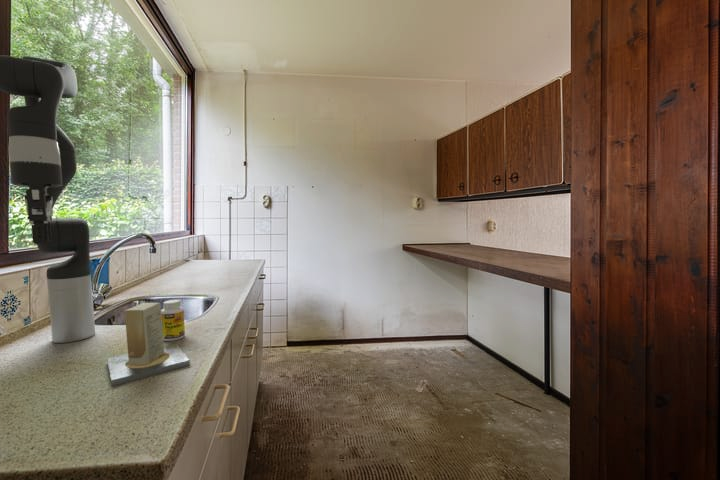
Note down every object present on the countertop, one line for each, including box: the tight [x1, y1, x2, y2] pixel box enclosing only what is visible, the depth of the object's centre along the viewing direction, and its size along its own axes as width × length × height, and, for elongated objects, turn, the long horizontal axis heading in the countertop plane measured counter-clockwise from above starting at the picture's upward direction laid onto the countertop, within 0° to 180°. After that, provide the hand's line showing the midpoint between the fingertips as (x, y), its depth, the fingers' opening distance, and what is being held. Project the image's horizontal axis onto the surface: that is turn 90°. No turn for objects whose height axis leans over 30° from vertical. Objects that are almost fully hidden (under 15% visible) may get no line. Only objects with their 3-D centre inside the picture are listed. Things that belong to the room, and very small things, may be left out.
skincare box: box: [124, 302, 165, 365], centre depth 75 cm, size 6×4×12 cm
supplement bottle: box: [161, 299, 186, 342], centre depth 92 cm, size 6×6×10 cm
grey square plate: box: [106, 342, 191, 387], centre depth 76 cm, size 14×14×1 cm
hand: (42, 242), depth 69 cm, fingers open, 8 cm apart
